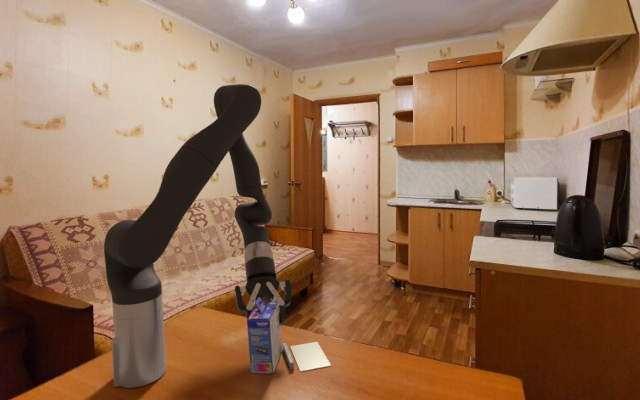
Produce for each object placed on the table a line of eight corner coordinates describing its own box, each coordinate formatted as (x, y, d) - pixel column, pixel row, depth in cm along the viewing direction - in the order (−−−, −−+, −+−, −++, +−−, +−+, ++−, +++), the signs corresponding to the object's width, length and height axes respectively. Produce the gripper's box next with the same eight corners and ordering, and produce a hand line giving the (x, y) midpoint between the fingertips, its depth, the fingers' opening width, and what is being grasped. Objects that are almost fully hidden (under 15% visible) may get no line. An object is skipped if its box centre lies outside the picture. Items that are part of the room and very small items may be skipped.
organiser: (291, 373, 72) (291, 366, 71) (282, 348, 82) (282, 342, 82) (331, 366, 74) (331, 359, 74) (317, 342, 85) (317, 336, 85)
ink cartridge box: (259, 349, 82) (257, 291, 80) (282, 350, 81) (280, 291, 80) (248, 373, 72) (245, 308, 71) (273, 374, 71) (271, 308, 70)
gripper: (231, 258, 83) (236, 324, 73) (288, 252, 88) (300, 314, 77) (231, 273, 89) (235, 336, 79) (284, 267, 93) (295, 327, 83)
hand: (267, 325), depth 78 cm, fingers closed on ink cartridge box, 6 cm apart
